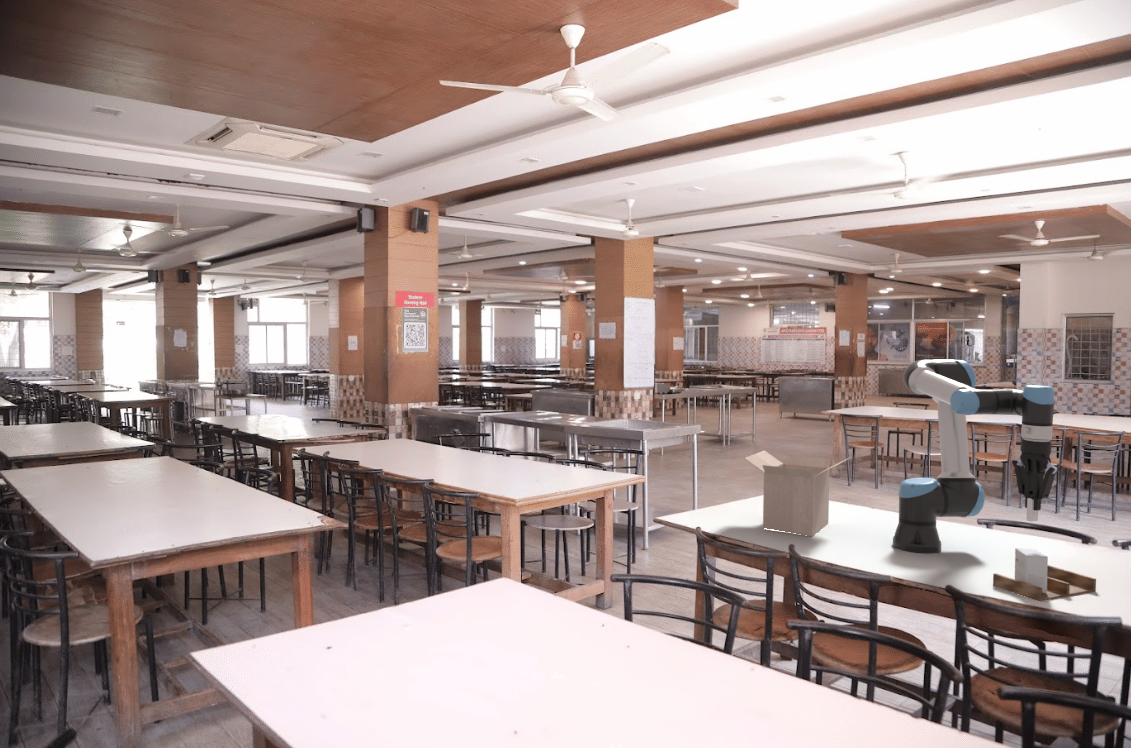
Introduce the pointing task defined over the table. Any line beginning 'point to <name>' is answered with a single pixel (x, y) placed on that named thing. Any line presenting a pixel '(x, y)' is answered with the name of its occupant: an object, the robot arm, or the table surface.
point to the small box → (1031, 567)
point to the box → (794, 492)
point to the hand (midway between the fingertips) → (1032, 520)
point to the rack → (1049, 585)
